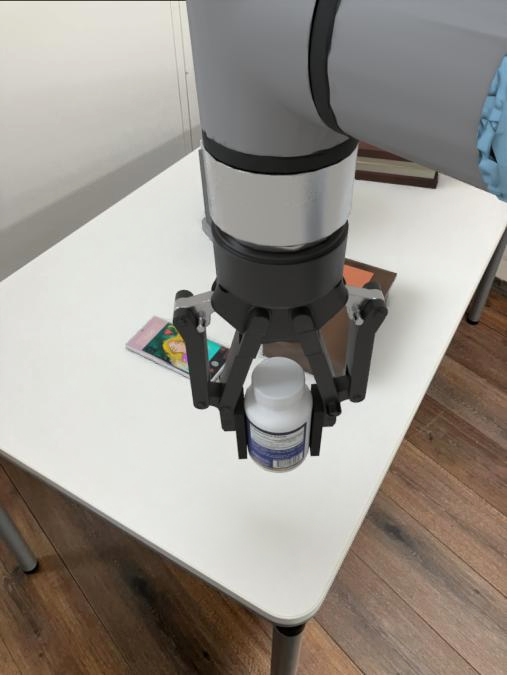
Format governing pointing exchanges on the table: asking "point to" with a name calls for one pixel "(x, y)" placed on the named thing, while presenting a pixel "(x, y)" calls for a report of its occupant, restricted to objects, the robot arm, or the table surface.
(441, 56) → the robot arm
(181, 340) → the smartphone
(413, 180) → the decorative book
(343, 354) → the wooden box
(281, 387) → the pill bottle
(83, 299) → the table surface
